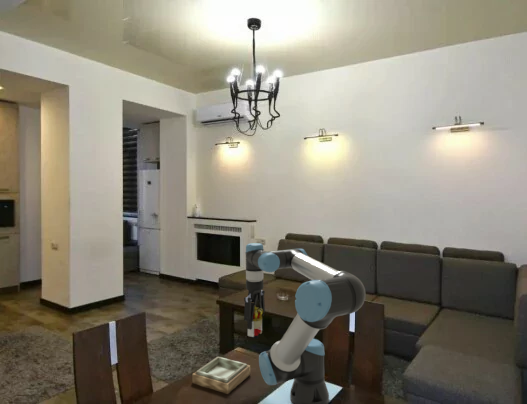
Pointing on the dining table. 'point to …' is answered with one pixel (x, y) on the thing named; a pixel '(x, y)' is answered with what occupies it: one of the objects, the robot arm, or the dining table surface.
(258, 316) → the toy
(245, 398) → the dining table surface
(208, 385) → the square wooden tray
